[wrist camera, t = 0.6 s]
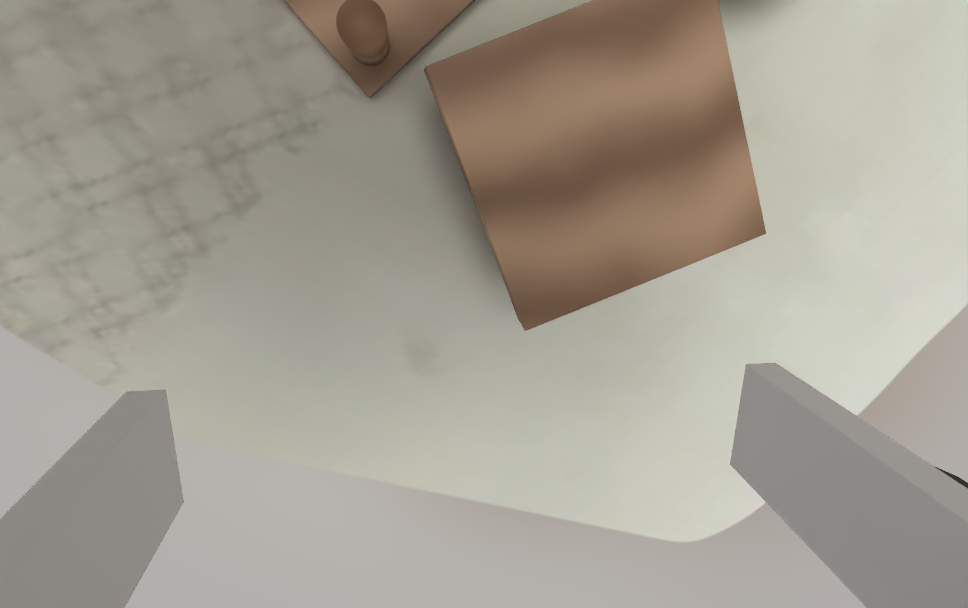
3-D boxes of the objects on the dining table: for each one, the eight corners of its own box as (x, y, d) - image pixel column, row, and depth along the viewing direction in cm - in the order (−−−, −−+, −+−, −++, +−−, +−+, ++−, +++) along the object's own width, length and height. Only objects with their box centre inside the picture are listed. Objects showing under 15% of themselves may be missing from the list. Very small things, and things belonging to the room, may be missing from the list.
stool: (418, 79, 36) (425, 66, 27) (628, -4, 37) (708, -46, 27) (496, 281, 41) (525, 330, 32) (682, 206, 41) (766, 233, 32)
